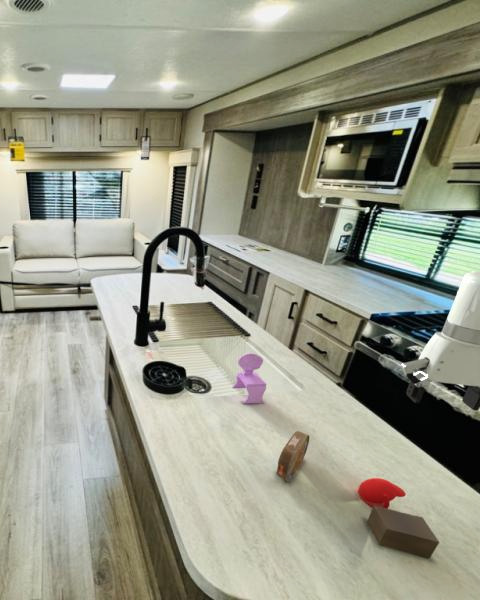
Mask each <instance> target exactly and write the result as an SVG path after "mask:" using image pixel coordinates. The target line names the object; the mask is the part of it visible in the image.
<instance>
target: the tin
mask: <svg viewBox="0 0 480 600" xmlns="http://www.w3.org/2000/svg"><path fill="white" fill-rule="evenodd" d="M309 442H310V435H309V434H306V433H304V432H302V431H299V430H297V431H295V432H294V433H293V434H292V436H291V437H290V438H289V440H288V441H287V442H286V444H285V446H284V447H283V449H282V451H281V453H280V455H279V457H278V460H277V468H276V476H278V477H279V478H281V479H283V480H285V481H286V482H287V483H289V482H290V481H291V480H292V478H293V477H294V476H295V474H296V473H297V471H298V469H299V467H300V466H301V464H302V463H303V461H304V458H305V456H306V453H307V450H308V447H309V444H310V443H309Z"/></svg>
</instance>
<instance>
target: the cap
mask: <svg viewBox="0 0 480 600" xmlns="http://www.w3.org/2000/svg"><path fill="white" fill-rule="evenodd" d="M357 495H358V497H359V498H360V500H361V501H362V502H363V503H364V504H365V505H367V506H368V507H370V508H372V509H373V507H374V506H378V507H382V508H386V509H390V508H389V507H390V502H391V501H393V500H394V499H395V498H403V497H404V498H405V496H406V492H405V490H404V489H402V488H401V487H400V486H398V485H396V484H395V483H392V482H391V481H389V480H387V479H385V478H380V477H375V478H374V477H372V478H367V479H365V480H364V481H362V482H361V483H360V485H358V488H357Z"/></svg>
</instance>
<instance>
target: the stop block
mask: <svg viewBox="0 0 480 600" xmlns="http://www.w3.org/2000/svg"><path fill="white" fill-rule="evenodd" d="M366 522H367V525H368V526H369V529H370V531H371V534H372V535H373V537H374V538H375V540H376V542H377V544H378V546H380V547H384V548H388V549H392V550H396V551H399V552H402V553H407V554H409V555H412V556H413V555H414V556H417V557H421V558H425V559H429V560H430V559H431V557H432V555H433V554H434V552H435V551H436V549H437V547H438V546H439V544H440V541H439V539H438V538H437V537H436V535H435V533H434V532H433V531H432V529H431V527H430V526H429V524H428V523H427V522H426V520H425V519H424V517H422V516H419V515H416V514H415V515H414V514H410V513H406V512H403V511H399V510H394V509H392V508H391V509H390V508H388V509H386V508H382V507H378V506H374V507H373V508H372V509H371V511H370V514H369V516H368V518H367V520H366Z"/></svg>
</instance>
